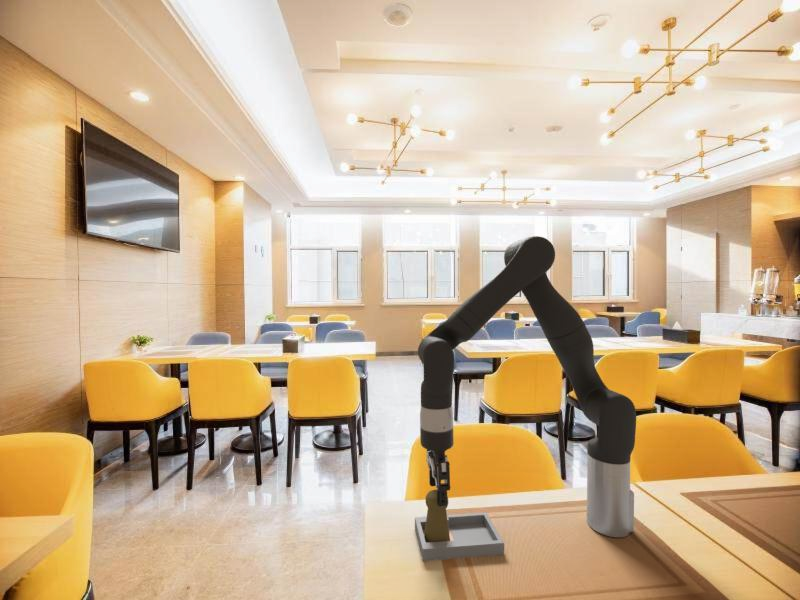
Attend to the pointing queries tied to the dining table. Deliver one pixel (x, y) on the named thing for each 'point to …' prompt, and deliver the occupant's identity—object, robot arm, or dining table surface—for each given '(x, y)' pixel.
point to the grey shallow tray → (462, 538)
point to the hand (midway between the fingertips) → (437, 494)
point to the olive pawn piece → (436, 520)
